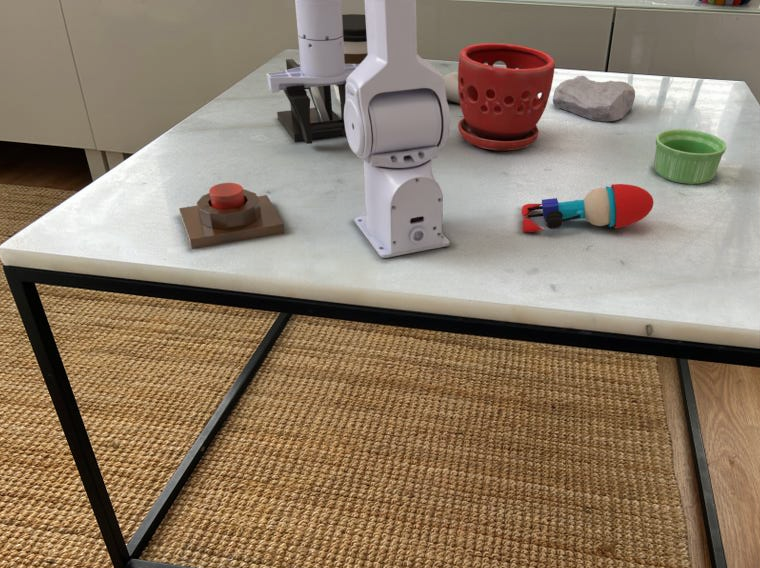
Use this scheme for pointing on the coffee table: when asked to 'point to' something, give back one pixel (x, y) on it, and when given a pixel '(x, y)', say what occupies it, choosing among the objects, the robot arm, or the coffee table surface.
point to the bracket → (291, 120)
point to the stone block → (595, 98)
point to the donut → (452, 87)
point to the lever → (322, 114)
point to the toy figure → (594, 208)
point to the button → (227, 196)
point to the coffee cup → (353, 41)
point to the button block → (230, 221)
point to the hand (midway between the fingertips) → (327, 138)
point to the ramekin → (688, 155)
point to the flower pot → (502, 94)
